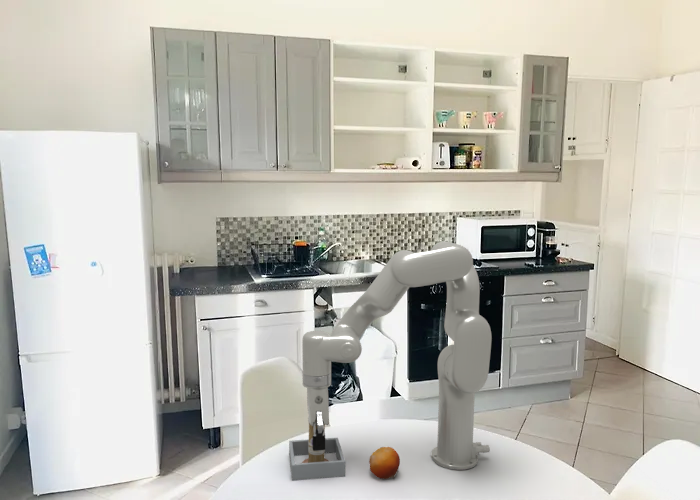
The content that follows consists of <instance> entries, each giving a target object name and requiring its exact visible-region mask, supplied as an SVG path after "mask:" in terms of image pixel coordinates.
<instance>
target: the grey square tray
mask: <svg viewBox="0 0 700 500" xmlns="http://www.w3.org/2000/svg"><path fill="white" fill-rule="evenodd" d="M308 440H309V439H299V440H297V439H294V440H289V442H288V444H289V445H288V455H289V456H288V457H289V465H290V466H289V467H290V474H291V475H290V476H291V481H302V480H303V481H304V480H305V481H306V480H318V479H319V480H320V479H331V478H344V477H346V459H345V456H344V453H343V450H342V446H341V443H340V440H339V438H338V437H327V438H326V437H325V455H326V454H335V457H336V460H329V459H328V458H326V457H324V460H325V462H311V463H308V460H309V457H307V458H305V459H303V461H302V462H300V463H299V462H297V463H295V456H309V452H308Z"/></svg>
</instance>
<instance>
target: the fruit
mask: <svg viewBox="0 0 700 500" xmlns="http://www.w3.org/2000/svg"><path fill="white" fill-rule="evenodd" d="M368 463H369V470H370V472H371V474H373V475H374V476H375V477H376V478H378V479H380V480H381V479H382V480H387V479H395V476H396V474H397V473H398V472H399V469H400V464H401V459H400V455H399V453H398V452H397V451H396V450H395V449H394V448H393V447H391V446H382V447H380V448H377V449H376V450H374V451H373V452H372V453H371V455H370V456H369V461H368Z"/></svg>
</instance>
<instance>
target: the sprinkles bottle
mask: <svg viewBox="0 0 700 500" xmlns="http://www.w3.org/2000/svg"><path fill="white" fill-rule="evenodd" d="M307 419H308V420H307V421H308V439H307V440H308V452H309V455H308V458H309V460H308V463H311V462H325V460H324V458H326V457H325V455H326V454H325V450H319V451H313V435H314V431H313V426H312V425H311V424H310V420H309V415H308V417H307ZM315 423H317V422H315ZM325 427H326V425H325V424H324V431H325V430H326V429H325ZM316 429H317V427H316ZM325 432H326V431H325Z"/></svg>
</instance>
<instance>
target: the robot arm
mask: <svg viewBox="0 0 700 500" xmlns="http://www.w3.org/2000/svg"><path fill="white" fill-rule="evenodd" d="M478 275H479V274H478V272H477V270H476V268H475V266H474V259H473V255H472V254H471V252H470V251H469V249H468V248H467V247H465V246H463V245H461V244H457V243H456V242H455V243H454V242H451V241H445V240H444V241H439V242H437V243H435V244H434V245H433V246H432V247H431V249H430V250H425V251H420V252H414V251H412V250H408V249H407V250H406V249H401V250H399V251H396V252H395V253H394V254H393V255H392V256H391V257H390V258H389V260H388V261H387V262H386V264H385V265H384V266H383V268H382V269H381V270H380V272H379V273H378V275H377V276H376V277H375V279H374V280H373V281H372V283H371V284H370V285H369V286H368V288H367V289H366V290H365V291H364V293H363V294H362V295H361V296H360V297H359V298H358V299H357V300H356V301H355V302H354V303H353V304H352V305H351V306H350V307H349V308H348V309H347V311H346V312H345V313H344V314H343V315H342V316H341V318H340V320H339V321H338V323H336V325H335V326H334V328H333V329H332V331H331V333H329V332H327V331H324V330H311V331H310V330H309V331H307V332H305V333H304V334H303V335H302V342H301V343H302V346H301V347H302V352H301V353H302V356H301V357H302V386H303V387H304V388H306V401H307V402H306V403H307V414H308V416H309V420H310V424H311V425H312V426H313V431H314V435H313V451H319V450H325V438H326V433H325V432H326V431H324V424H325V426H329V425H330V414H329V413H330V410H329V409H330V407H329V404H330V403H329V390H328V388H329V387H330V386H331V385H332V362H335V363H343V364H348V363H353V362H355V361H357V360H358V359H359V358H360V356H361V354H362V349H363V348H362V343H361V340H360V338H361V337H362V336H363V334H364V333H365V331H366V330H367V329H368V328H369V326H370V325H371V324H373V322H374V321H376V320H377V319H380V318H381V317H384V316H386V315H388V314H390V313H391V312H392V311H393V310H394V309H395V307H396V306H397V305H398V303H399V302H400V301H401V299H402V298H403V297H404V295H405V294H406V293H407V291H408V290H409V289H410V288H418V287H424V286H431V285H435V284H441V283H445V285H446V304H445V305H446V306H445V316H444V324H443V325H444V331H445V333H446V335H447V336H448V337H449V339H451V340H452V341H453V344H449V345H448V346H445V347H444V348H443V349H442V350H441V351H440V353H439V355H438V358H437V377H438V418H437V419H438V420H437V446H435V447H433V449H432V450H431V452H430V453H431V459H432V461H433V462H434V463H435V464H437V466H440V467H443V468H445V469H449V470H458V471H465V470H469V469H472V468H474V467H475V466H477V465H478V463H479V454H481V453H483V454H484V453H485V454H486V453H490V452H491V447H490V445H489V444H484V445H483V444H482V442H481V441H479V442H478V441H477V442H474V424H475V423H474V422H475V421H474V420H475V401H476V400H475V399H476V397H475V394H476V393H478V392H479V391H481V390H482V389H483V387H484V386H485V385H486V383H487V381H488V378H489V371H490V360H491V350H492V339H493V338H492V331H491V326H490V324H489V323H488V320H487V319H486V318H485V317H483V316H482V315H480V280H479V279H480V278H479V276H478ZM315 422H317V423H315ZM316 427H317V429H316Z"/></svg>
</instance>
